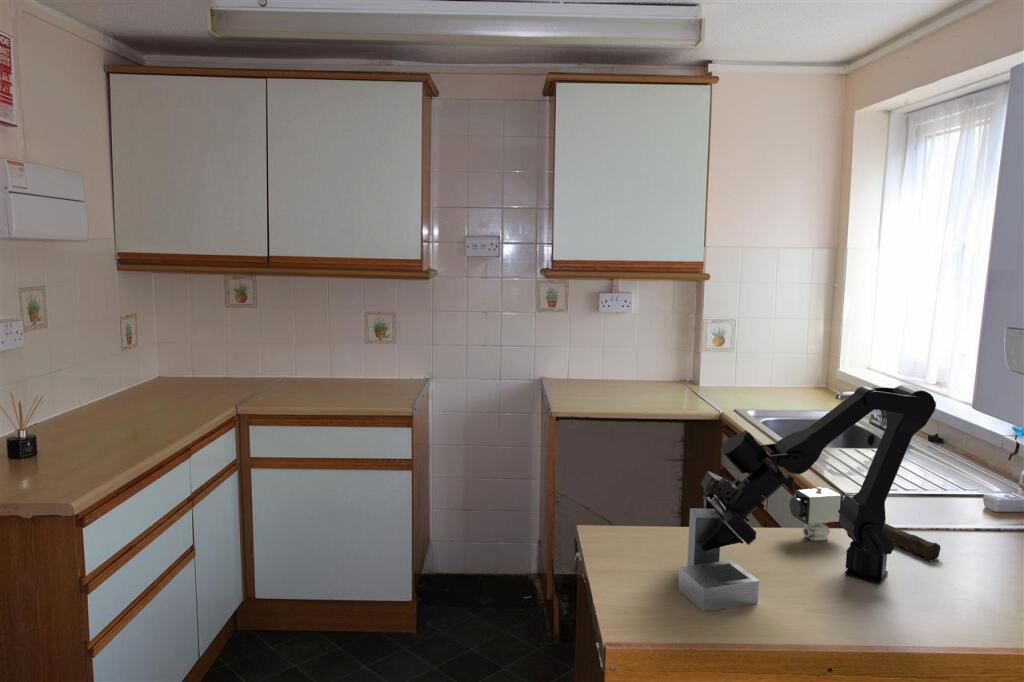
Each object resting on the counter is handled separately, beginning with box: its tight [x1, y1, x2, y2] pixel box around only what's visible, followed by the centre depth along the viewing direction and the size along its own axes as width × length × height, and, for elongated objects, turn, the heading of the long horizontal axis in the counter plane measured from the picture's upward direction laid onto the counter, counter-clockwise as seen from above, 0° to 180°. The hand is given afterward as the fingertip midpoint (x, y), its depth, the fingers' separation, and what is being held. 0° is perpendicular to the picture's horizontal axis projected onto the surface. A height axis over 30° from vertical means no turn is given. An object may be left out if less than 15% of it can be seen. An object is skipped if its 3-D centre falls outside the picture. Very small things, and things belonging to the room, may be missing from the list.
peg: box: [686, 507, 721, 566], centre depth 144 cm, size 5×5×12 cm
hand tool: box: [883, 520, 941, 562], centre depth 159 cm, size 19×4×5 cm, turn 22°
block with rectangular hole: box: [677, 559, 760, 613], centre depth 134 cm, size 12×9×4 cm
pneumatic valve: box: [788, 486, 845, 543], centre depth 161 cm, size 6×12×12 cm, turn 101°
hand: (697, 540), depth 144 cm, fingers open, 8 cm apart
